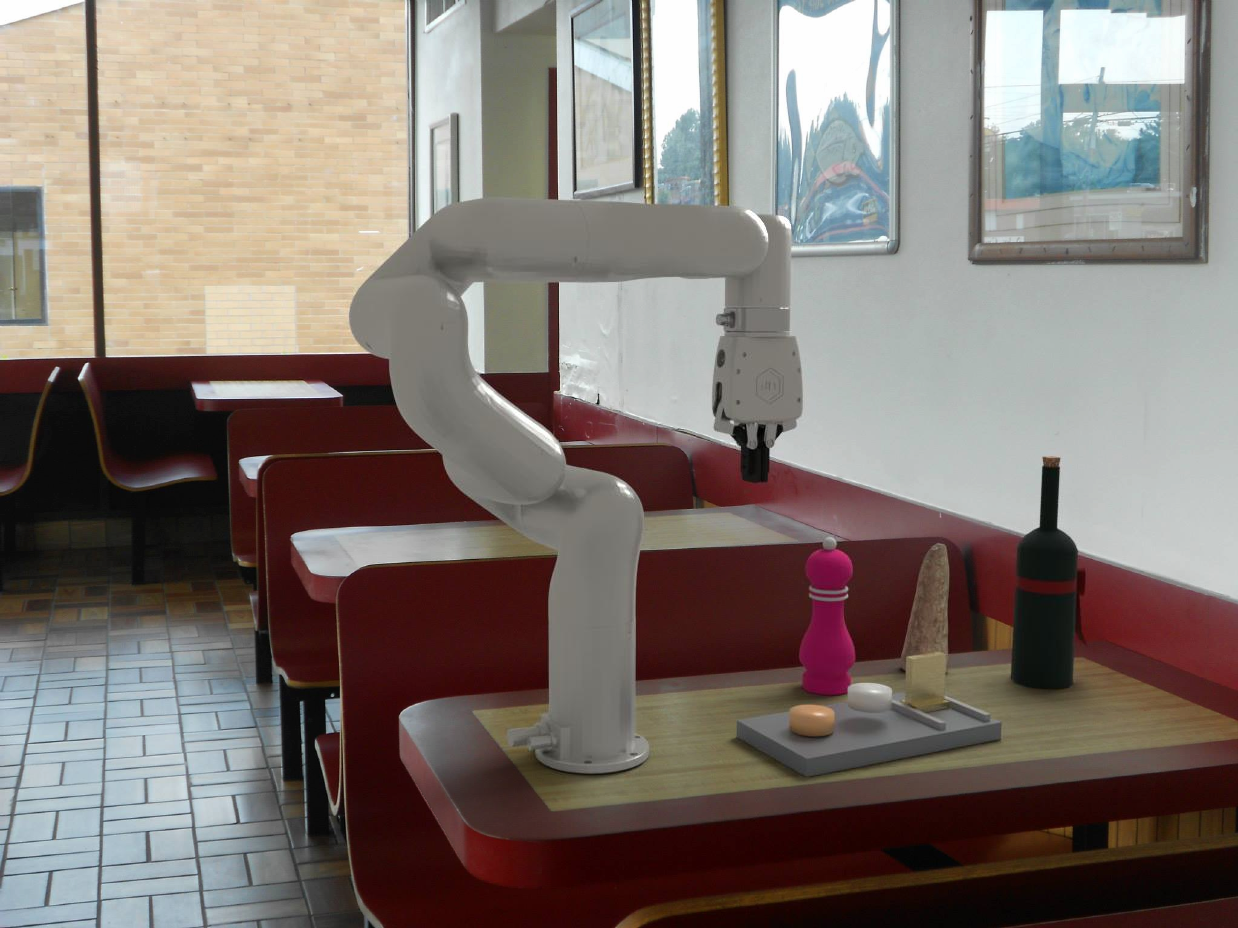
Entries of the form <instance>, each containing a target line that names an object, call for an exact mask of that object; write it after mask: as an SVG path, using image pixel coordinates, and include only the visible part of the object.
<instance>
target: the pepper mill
mask: <svg viewBox="0 0 1238 928" xmlns="http://www.w3.org/2000/svg"><path fill="white" fill-rule="evenodd" d="M822 546H823V547H822V548H823V549H822V548H821V549H817V550H816V551H814V552H812V553H811V555H810V556H809V557H808V559H807V561H806V564H805V574H806V577H807V579H808V580H809V581H810V583H811V584H810V585H809V587H808V590H809V593H808V596H809V598H810V599H811V600H812V601H811V602H812V613H811V614H812V616H811V620H810V623H809V626H808V628H807V630H806V632H805V634H804V635H803V638H802V640H801V643H800V647H799V653H798V654H799V655H798V658H799V661H800V663H801V664H802V666H803V667H804V669H805V671H804V672H803V673H802V674H801V675H802V681H801V683H802V684H801V686H802V689H803V690H804V691H806V692H809V693H811V694H814V695H821V696H822V695H823V696H838V695H843V694H848V686H850V685H852V677H851V675H850V674H849V673H848V671H850V669H851V668H852V667H853V666H854V664H855V662H856V650H855V646H854V642H853V639H852V637H851V636H850V633H849V631H848V629H847V625H846V622H845V617H844V613H845V612H844V607H845V602H846V600H847V599H848V598H849V594H848V592H849V587H848V586H847V583H849V581H850V580H851V578H852V576H853V564H852V560H851V558H850V557H849V556H848V555H847V554H846V553H845V552H843V551H841V550H839V549H836V547H837V541H836V539H835V538H833V537H831V536H828V537H825V538H824V539H823V541H822Z"/></svg>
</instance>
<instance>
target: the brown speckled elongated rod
mask: <svg viewBox="0 0 1238 928" xmlns="http://www.w3.org/2000/svg"><path fill="white" fill-rule="evenodd" d="M919 569H920V570H919V573H918V577H917V585H916V592H915V596H914V598H913V599H914V600H913V603H912V608H911V612H910V618H909V621H908V624H907V625H908V626H907V631H906V635H905V637H904V638H905V640H904V644H903V648H902V652H901V655H900V668H901V669H902V670H904V671H905V672H906V657H908V656H915V655H922V654H928V653H935V652H941V653H944V654H946V672H948V670H949V662H950V660H949V647H948V646H949V643H948V635H949V627H948V626H949V623H948V599H949V590H950V589H949V588H950V566H949V558H948V550H947V546H946V545H945V543H940V542H939V543H938V542H937V543H935V544H934V545H933V546H931V547H930V548H929V550H928V551H927V552H926V554H925V556H924V558H923V561H922V564H921V566H920V568H919Z"/></svg>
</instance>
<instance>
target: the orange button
mask: <svg viewBox="0 0 1238 928" xmlns="http://www.w3.org/2000/svg"><path fill="white" fill-rule="evenodd" d="M824 706H825V705H818V704H799V705H795V706H792V707H790V709H789V711H788V712H789V729H790V730H791V731H792V732H794V733H796V734H800V735H805V736H825V735H829V734H831V733H833V732H834V715H835V713H834V711H833V710H832V709H830V708H828V707H824Z"/></svg>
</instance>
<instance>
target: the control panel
mask: <svg viewBox="0 0 1238 928" xmlns="http://www.w3.org/2000/svg"><path fill="white" fill-rule="evenodd" d="M900 700H905V691H904V692H898V693H892V708H891V710H889V711H886V712H882V713H866V712H859V711H856V710H853V709H851V708H849V707H848V705H847V701H844V702H838V703H833V704H827V705H825V704H824V705H823V706H824V707H828V708H830V709H832V710H833V711H834V713H835V715H834V732H833V733H831V734H829V735H825V736H805V735H800V734H796V733H794V732H792V731H791V730H790V729H789V711H784V712H778V713H772V714H766V715H760V716H755V717H753V716H752V717H749V718H748V717H747V718H742V719H737V720H736V738H738V739H739V740H740V741H742V742H744V743H745V744H748V745H749V746H752V747H753V748H755V749H757V750H759V751H760V752H762V753H764V754H766V755H768V756H769V757H771V758H773V760H774V759H775V760H776V761H778V762H780V763H781V764H783V765H784V766H787V767H788V768H790V769H792V770H794V771H795V772H797V773H798V774H800V775H802V776H804V777H806V778H808V777H813V776H814V777H815V776H818V775H819V776H820V775H824V774H829V773H833V772H839V771H840V772H841V771H845V770H849V769H854V768H855V769H856V768H860V767H865V766H869V765H875V764H880V763H885V762H891V761H895V760H899V759H901V760H902V759H906V758H910V757H916V756H923V755H927V754H931V753H936V752H942V751H947V750H950V749H951V750H952V749H956V748H957V749H958V748H962V747H967V746H971V745H972V746H973V745H977V744H982V743H988V742H994V741H998V740H1001V739H1002V725H1003V724H1002V721H1000V720H997V719H995V718H993V717H991V713H990V712H987V711H984V710H982V709H980V708H977V707H974V706H971V705H969V704H967V703H964V702H961V701H959V700H957V699H954V698H952V697H950V696H947V695H945V700H947V701H950V708H947V709H942V710H936V711H930V712H925V713H924V712H921V711H919V710H917V709H914V708H912V707H910V706H907V705H905V704H903V703H900Z"/></svg>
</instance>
